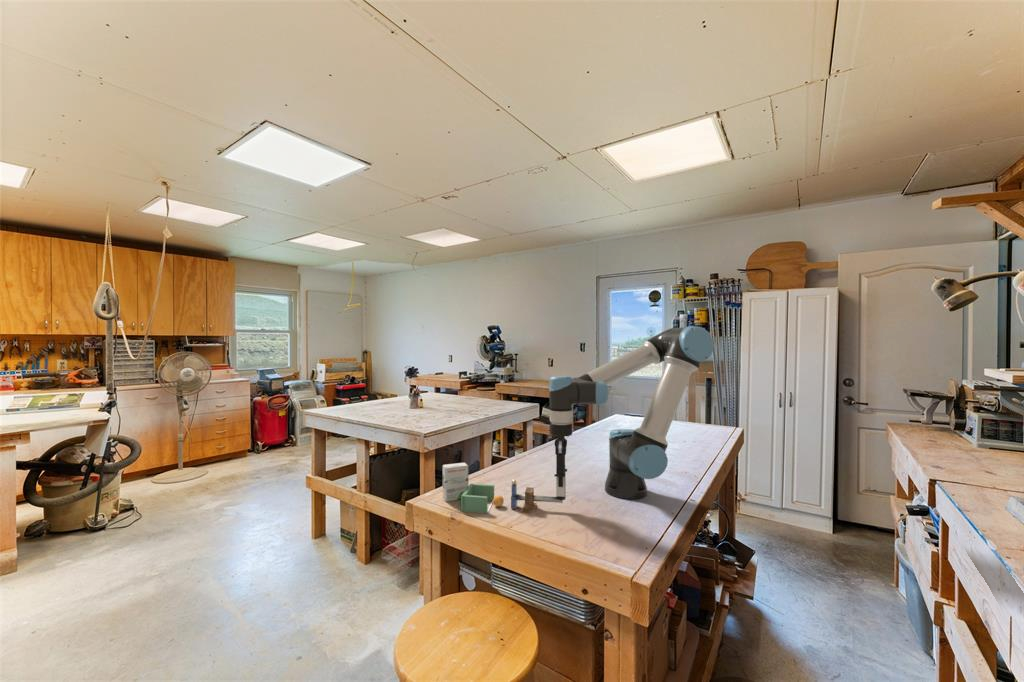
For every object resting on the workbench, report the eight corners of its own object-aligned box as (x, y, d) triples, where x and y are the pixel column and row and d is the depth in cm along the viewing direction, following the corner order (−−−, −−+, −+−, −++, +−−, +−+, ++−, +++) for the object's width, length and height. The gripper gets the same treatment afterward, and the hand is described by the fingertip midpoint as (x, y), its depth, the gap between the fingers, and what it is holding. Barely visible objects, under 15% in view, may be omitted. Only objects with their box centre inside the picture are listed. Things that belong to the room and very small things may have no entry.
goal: (495, 499, 139) (495, 484, 139) (487, 513, 127) (487, 497, 127) (470, 497, 140) (470, 483, 140) (461, 511, 129) (461, 496, 129)
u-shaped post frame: (565, 508, 131) (565, 466, 131) (565, 512, 127) (565, 469, 128) (512, 504, 133) (512, 464, 134) (510, 508, 130) (510, 467, 131)
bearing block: (536, 504, 134) (536, 486, 134) (534, 513, 127) (534, 494, 127) (524, 503, 135) (524, 485, 135) (522, 512, 128) (522, 493, 128)
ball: (504, 504, 134) (504, 494, 134) (502, 508, 131) (502, 498, 131) (494, 503, 135) (494, 493, 135) (492, 508, 131) (492, 497, 131)
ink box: (465, 493, 144) (465, 461, 144) (468, 498, 140) (469, 465, 140) (442, 497, 141) (442, 464, 141) (445, 502, 136) (445, 468, 137)
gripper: (551, 418, 138) (551, 484, 138) (547, 427, 122) (547, 502, 122) (572, 418, 137) (572, 486, 137) (571, 428, 121) (572, 504, 121)
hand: (561, 493), depth 129 cm, fingers closed on u-shaped post frame, 3 cm apart
